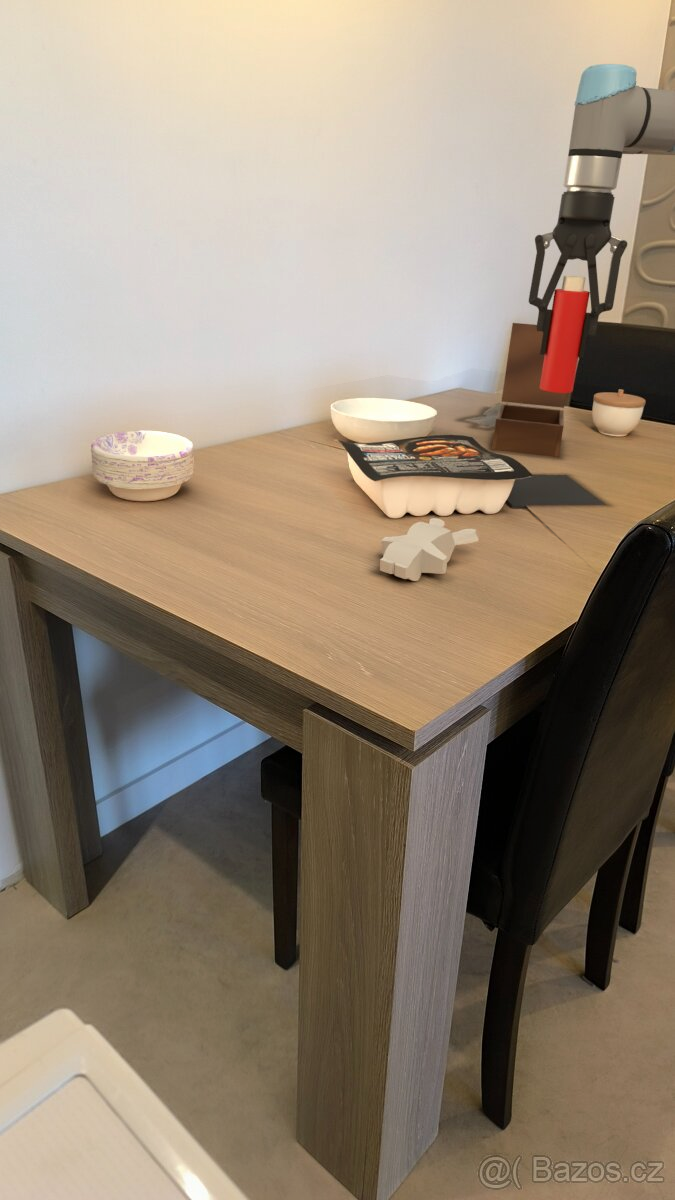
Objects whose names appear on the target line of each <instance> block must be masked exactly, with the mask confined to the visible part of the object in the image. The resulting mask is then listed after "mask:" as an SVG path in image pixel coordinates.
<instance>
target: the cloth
mask: <svg viewBox="0 0 675 1200" xmlns="http://www.w3.org/2000/svg"><path fill="white" fill-rule="evenodd" d="M501 404H502V403H496V404H495V405H493V406H492V407H489V408H488V409H486V410H485V411H484V412H483V413H482V414H483V415H482V416H478V417H472V418H467V419H465V421H477V422H476V424H479V425H483V426H486V427H485V428H486V429H495V423H496V418H497V415H498V412H499V409H500V406H501ZM506 404H509V402H506Z"/></svg>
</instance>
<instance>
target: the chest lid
mask: <svg viewBox="0 0 675 1200" xmlns="http://www.w3.org/2000/svg"><path fill="white" fill-rule="evenodd" d="M536 327H537V324H534V323H533V324H531V323H530V324H529V323H520V322H512V324H511V332H510V339H509V344H508V352H507V359H506V367H505V372H504V380H503V387H502V394H501V402H502V403H513V404H522V405H532V406H540V407H541V406H543V407H551V408H552V407H553V408H562V409H563V408H565V405H566V399H567V393H554V392H548V391H544V390H541V389H540V382H541V375H542V369H543V363H544V356H545V355H541V354H540V351H541V344H542V338H543V332H542V331H537V328H536Z"/></svg>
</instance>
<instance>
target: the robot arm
mask: <svg viewBox="0 0 675 1200" xmlns="http://www.w3.org/2000/svg"><path fill="white" fill-rule="evenodd" d="M570 132H571V133H570V140H569V147H568V154H567V157H566V164H565V172H564V178H563V183H562V185H563V187H564V188H566V191H563V193H561V198H560V204H559V209H558V210H559V211H558V216H557V217H558V218H557V223H556V225H555V226H554V228H553V229H552V231H551V232H548V233H544V234H537V235H536V236H535V237H534V243H535V250H536V253H535V260H534V265H533V271H532V278H531V284H530V290H529V296H528V303H529V304H530V305H532V306H534V307H536V308H537V309H538V315H537V322H536V325H537V327H536V328H537V331H542V332H543V338H542V344H541V351H540V354H541V355H545V350H546V344H547V338H548V331H549V325H550V319H551V312H552V309H548V307H549V305H550V302H551V300H552V298H553V296H554V293H555V289H557V287H558V284H559V282H560V279H561V277H562V275H563V272H564V270H565V268H566V265H567V263H568V260H570V261H573V260H577V259H578V260H581V261H586V264H587V275H588V286H589V292H590V294H589V299H590V312H587V311H586V317H585V323H584V328H583V334H582V340H581V346H580V351H579V357H578V359H584V358H585V353H586V348H587V341H588V336H590V337H594V336H595V335H596V333H597V327H598V324H599V317H600V315H601V314H602V313H604V312H608V311H611V310H612V309H613V308H614V304H615V297H616V292H617V286H618V285H617V284H618V278H619V272H620V266H621V259H622V256H623V255H624V253H625V251H626V249H627V247H628V242H627V240H625V239H620V238H618V237H615V236H613V235H612V231H611V220H612V214H613V208H614V203H615V199H616V198H615V196H614V194H613V192H612V191H614V190H616V189H617V186H618V181H619V175H620V170H621V164H622V158H623V155H655V156H657V155H658V156H675V90H673V89H672V90H670V89H661V88H650V87H642V86H640V85H637V69H636V68H635V67H633V66H630V65H627V64H620V63H619V64H618V63H602V64H594V65H590V66H588V67H586V68H585V69H584V71H583V72H582V74H581V75H580V80H579V83H578V88H577V93H576V97H575V101H574V112H573V119H572V127H571V131H570ZM553 240H554V243H555V244H556V246H557V248H558V250H559V252H560V256H559V258H558V261H557V262H556V265H555V268H554V270H553V273H552V275H551V277H550V280H549V282H548V284H547V286H546V289H545V292H544V294H543V296H542V298H540V297H538V296H539V290H540V285H541V280H542V279H541V278H542V275H543V274H542V272H543V269H544V262H545V256H546V250H547V249H548V248H549V247H550V245H551V241H553ZM607 244H609V251H610V253H611V254H612V255H611V259H610V265H609V266H610V267H609V272H608V278H607V285H606V290H605V297H604V302H600V295H599V294H600V293H599V292H600V291H599V281H598V269H597V268H598V267H597V255H598V254H599V253H600V252H601V251H602V250H603V249H604V248H605V247H606V246H607Z"/></svg>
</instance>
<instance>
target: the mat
mask: <svg viewBox="0 0 675 1200" xmlns="http://www.w3.org/2000/svg"><path fill="white" fill-rule="evenodd" d="M532 475H533V476H532V477H527V478H522V479H515V481H514V484H513V487H512V490H511V492H510V495H509V497H508V498H507V500H506V501H505V503H506V504H507V506H509V508H510V509H529V507H528V506H607V504H606V503H605V502H603V501H602V500H601V499H599V498H598V497H597V496H596V495H594V494H593V493H591V492H590V491H588V490H587V489H586V488H585V487H583V486H582V485H581V484H579V483H578V482H577V481H575V480H574V479H573V478H571V477H570V476H568V475H567V474H532Z"/></svg>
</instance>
